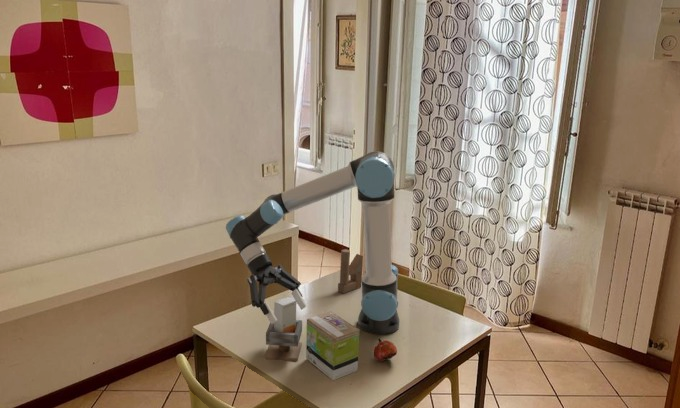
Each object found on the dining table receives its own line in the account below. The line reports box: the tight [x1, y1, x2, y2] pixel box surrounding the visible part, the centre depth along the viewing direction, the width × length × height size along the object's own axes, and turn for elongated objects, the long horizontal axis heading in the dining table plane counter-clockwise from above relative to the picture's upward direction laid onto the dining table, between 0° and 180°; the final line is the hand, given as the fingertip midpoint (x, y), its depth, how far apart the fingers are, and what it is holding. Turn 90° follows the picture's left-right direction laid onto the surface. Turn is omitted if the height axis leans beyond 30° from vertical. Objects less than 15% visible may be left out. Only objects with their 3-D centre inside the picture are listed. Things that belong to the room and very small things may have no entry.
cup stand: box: [265, 319, 303, 362], centre depth 180 cm, size 10×10×9 cm
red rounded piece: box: [373, 337, 398, 368], centre depth 177 cm, size 7×7×10 cm
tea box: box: [305, 310, 360, 381], centre depth 172 cm, size 15×10×15 cm
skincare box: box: [273, 296, 297, 333], centre depth 178 cm, size 6×4×12 cm
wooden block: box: [337, 248, 364, 294], centre depth 229 cm, size 4×11×18 cm, turn 135°
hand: (289, 314), depth 176 cm, fingers open, 13 cm apart
